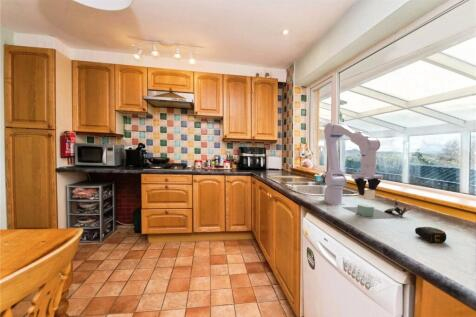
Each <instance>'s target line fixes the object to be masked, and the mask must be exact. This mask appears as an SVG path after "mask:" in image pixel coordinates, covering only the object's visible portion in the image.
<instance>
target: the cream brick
mask: <svg viewBox="0 0 476 317" xmlns="http://www.w3.org/2000/svg"><path fill="white" fill-rule="evenodd" d="M357 197H358V198H359V199H363V200H375V199H376V190H372V189H369V187H365V191H364V195H359V193H358V195H357Z"/></svg>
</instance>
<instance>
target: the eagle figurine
mask: <svg viewBox="0 0 476 317" xmlns="http://www.w3.org/2000/svg"><path fill="white" fill-rule="evenodd" d="M393 205H394V207H393V208H392V207H390V208H388V209H386V210H384V211H383V212H395V213H397V214H399V215H400V216H399V217H400V218H402V217H403V216H404V214H405V213H406V212H408V211H410V210H411V209H412V207H410V208H408V209H407V207H406V206H404V207H403V209H402V208H400V207H399V204H398V201H397V198H396V199H394V203H393Z"/></svg>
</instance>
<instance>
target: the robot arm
mask: <svg viewBox="0 0 476 317" xmlns="http://www.w3.org/2000/svg"><path fill="white" fill-rule="evenodd" d="M323 132H324V139H325V144H326V145H325V147H326V153H327V154H326V155H327V161H328V169H329V170H328V171H327V172H326V173H325V179H324V182H325V185H326V187H325V189H324V194H323V195H324V196H323V197H324V198H323V200H322V201H323V202H324V203H327V204H329V205H332V206H338V205H339V206H342V205H343V206H345V205H346V203H344V202H343V189H344V188H345V187H346V185H347V183H348V181H347V177H346V176H345V175H346V174H345V172H344V171H343V170H342V169H341V166H340V159H339V154H338V153H339V151H338V143H337V141H339V140H340V139H341V138H342V137H343V136H345V137H348V138H349V139H350V142H352V143H353V144H355V145H356V146H357V147H358V149H359V151H360V155H361V156H360V172H359V173H354V174H353V173H352V174H351V179H353V181H354V182H355V184H356V186H357V191H358V194H359V195H364V191H365V188H366V186H367V185H366V184H368V189H372V190H375V191H376V190H377V188H378V186H379V185H380V183H381V180H383V179H384V175H383V174H376V167H377V166H376V165H377V164H376V162H377V151H379V149H380V147H381V142H380V140H379V139H378V138H376V137H375V138H374V137H373V138H371V137H370V135H366V134H364V132H363V131H362V130H358V131H357V130H356V131H354V130H353V129H351V128H350V127H349V126H348V125H347V124H343V123H331V122H329V123H327V124H326V125H325V127H324V129H323Z"/></svg>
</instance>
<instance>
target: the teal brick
mask: <svg viewBox="0 0 476 317" xmlns="http://www.w3.org/2000/svg"><path fill="white" fill-rule="evenodd" d="M356 207H357V213H358V214H357V215H359V214H360V215H359V216H361V215H363V216H373V213H374V209H375V207H374V206H372V205H368V204H357V206H356ZM363 216H362V217H363Z"/></svg>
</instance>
